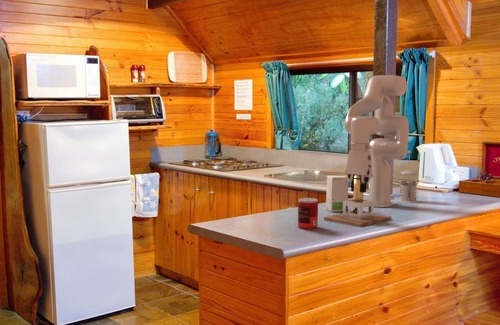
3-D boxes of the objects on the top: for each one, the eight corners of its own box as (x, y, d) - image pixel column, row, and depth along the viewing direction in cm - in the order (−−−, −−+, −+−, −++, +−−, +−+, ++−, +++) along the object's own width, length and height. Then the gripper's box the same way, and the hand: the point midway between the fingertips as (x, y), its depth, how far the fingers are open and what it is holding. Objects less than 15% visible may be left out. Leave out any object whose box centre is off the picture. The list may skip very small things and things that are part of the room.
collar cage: (355, 213, 256) (356, 198, 255) (373, 217, 249) (373, 200, 249) (342, 216, 250) (342, 200, 249) (360, 219, 243) (360, 203, 242)
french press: (416, 199, 301) (418, 149, 299) (420, 203, 290) (422, 151, 287) (396, 199, 302) (397, 149, 299) (399, 203, 291) (401, 151, 288)
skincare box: (330, 212, 266) (331, 177, 264) (325, 209, 272) (325, 175, 271) (348, 211, 268) (349, 176, 266) (342, 208, 274) (343, 174, 273)
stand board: (356, 213, 264) (356, 210, 264) (391, 219, 251) (391, 216, 251) (324, 219, 249) (324, 217, 248) (359, 226, 236) (359, 223, 235)
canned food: (315, 225, 238) (316, 197, 237) (318, 229, 230) (319, 201, 229) (296, 225, 238) (297, 197, 237) (299, 229, 230) (299, 201, 229)
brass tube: (356, 209, 252) (357, 174, 250) (364, 211, 249) (366, 175, 247) (350, 211, 249) (351, 175, 248) (358, 212, 246) (360, 176, 245)
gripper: (382, 148, 243) (380, 193, 245) (348, 145, 255) (347, 188, 257) (371, 149, 238) (370, 195, 240) (337, 146, 250) (336, 190, 252)
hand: (358, 191), depth 248 cm, fingers closed on brass tube, 4 cm apart
